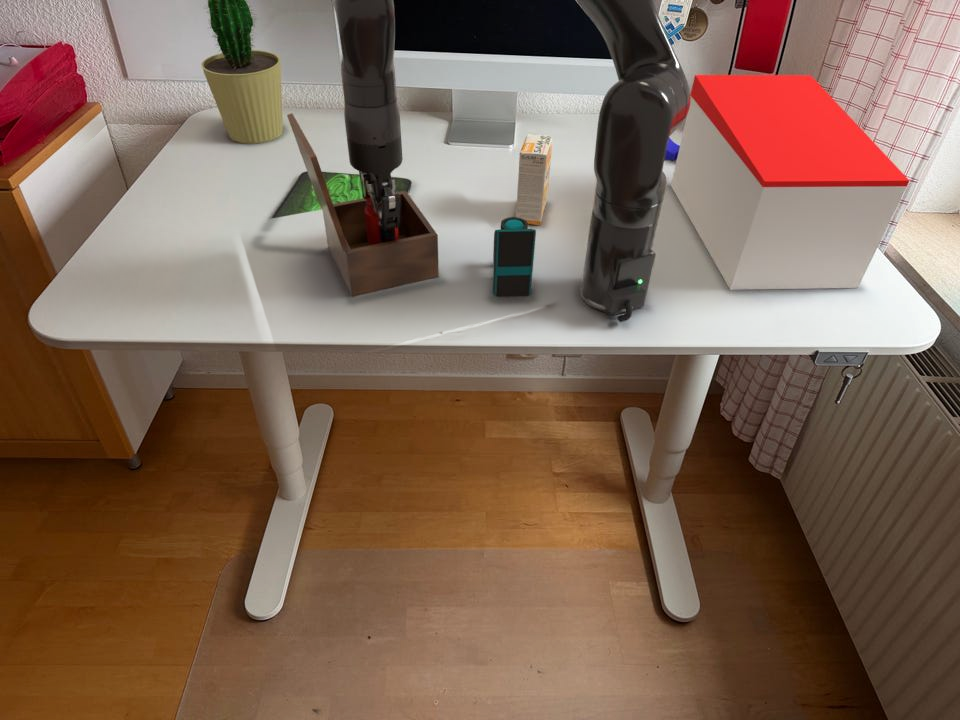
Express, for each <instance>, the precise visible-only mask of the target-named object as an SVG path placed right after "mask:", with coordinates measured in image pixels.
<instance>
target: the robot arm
mask: <svg viewBox="0 0 960 720" xmlns="http://www.w3.org/2000/svg"><path fill="white" fill-rule="evenodd" d="M575 2H576V3H577V4H578V5H579V6H580V8H581V10H583V12H584V13H585V14H586V16H587V17H589V18H590V20H591V21H592V22H593V24H594V25H595V26H596V28H597V29H598V31H599V32H600V34H601V36H602V38H603V39H604V42H605V43H606V46H607V48H608V51H609V54H610V57H611V59H612V63H613V66H614V69H615V72H616V76H617V81H616V82H615V83H614V84H613V85H612V86H611V87H610V88H609V89H608V91H606V94H605V95H604V97H603V100H602V103H601V106H600V110H599V115H598V121H597V127H596V128H597V129H596V136H595V137H596V138H595V147H594V156H593V157H594V159H593V172H594V175H595V179H596V182H595V188H594V189H595V190H594V197H593V202H592V203H593V204H592V210H591V216H590V224H589V229H588V237H587V243H586V249H585V250H586V251H585V257H584V265H583V271H582V278H581V283H580V287H579V294H580V297H581V300H583V301H584V303H586V305H588V306H590V307H591V308H593V309H595V310H597V311H601V312H605V313H606V315H608V316H615V315H618V317H617V321H618V322H619V323H624V322H626V321H628V320H630V318H631V317H632V315H633V311H634V310H637V309H641V308H644V307H645V304H646V299H647V295H648V290H649V286H650V281H651V277H652V273H653V268H654V264H655V259H656V253H655V251H654V250H653V246H654V242H655V237H656V233H657V228H658V224H659V219H660V215H661V210H662V207H663V202H664V198H665V193H666V189H667V183H668V182H667V181H668V178H667V175H666V174H665V172H664V171H663V170H664V164H665V160H666V159H665V154H666V149H667V144H668V139H669V137H671V136H672V134H673V133H675V132H676V131H677V130H678V129H679V128H680V126H681V125H682V124H683V123H684V122H685V121H686V117H687V114H688V111H689V108H690V100H691V90H690V85H689V82H688V79H687V77H686V75H685V72H684V69H683V67H682V64H681V63H680V61H679V58H678V57H677V54H676V52H675V50H674V48H673V45H672V43H671V41H670V39H669V37H668V35H667V31H666V29H665V28H664V25H663V23H662V20H661V18H660V16H659V12H658V9H657V8H656V4H655V1H654V0H575ZM331 3H332V7H333V9H334V12H335V15H336V22H337V27H338V35H339V42H340V48H341V56H342V58H341V62H340V75H341V85H342V91H343V92H342V94H343V104H344V105H343V106H344V107H343V108H344V109H343V114H344V115H343V117H344V118H343V119H344V126H345V135H346V141H347V151H348V159H349V164H350V166H351V167H352V168H353V169H354V170H356V171H358V174H359V175H360V181H361V187H362V193H363V194H362V196H363V198H364V200H365V199H366V200H367V198H368V197H370V198H371V203H372V209H373V211H374V212H376V213H377V218H378V225H379V231H380V242H381V243H385V242H390V241H395V240H396V237H395V228H398V227H400V206H401V197H400V195H399V194H395V191H394V190H395V188H396V187H395V181H394V178H393V177H394V176H392V173H393V171H394V170H396V169H398V168H399V167H400V166H401V165H402V163H403V158H404V157H403V144H402V143H403V142H402V129H401V114H400V109H399V103H398V95H397V80H396V79H397V78H396V69H395V68H396V67H395V62H394V57H395V42H396V41H395V40H396V14H395V13H396V12H395V4H394V3H395V2H394V0H331ZM377 203H381V206H377ZM366 206H367V203H366ZM622 313H624V314H622ZM619 314H620V315H619Z"/></svg>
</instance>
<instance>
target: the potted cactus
mask: <svg viewBox="0 0 960 720" xmlns="http://www.w3.org/2000/svg"><path fill="white" fill-rule="evenodd" d="M248 4H250V1H247V0H207V5H205V7H203V10H204V9H206V8H208V11H206V13H208V14H209V23H210V27H208V29H211V30H212V32H213V35H212V38H214V41H212V42H213V43H214V42H215V40H216V48H219V49H220V50H218V51H217V54H214V55H211V56H208V57H206V59H204V60H203V61H202V63H201V69H202V70H203V74H204V76H205V79H206V82H207V84H208V87H209V89H210V91H211V94H212V97H213V99H214V101H215V105H216V107H217V109H218V112H219V114H220V117H221V119H222V122H223V125H224V127H225V130H226V132H227V135H228V136H229V138H230V139H231V140H232V141H234V142H235V143H240V144H248V145H251V144H252V145H253V144H261V143H262V144H263V143H267V142H271V141H273V140H276V139H278V138H279V137H281V135H283V130H284V126H283V124H284V123H283V96H282V95H283V94H282V93H283V92H282V67H281V62H282V59H281V57H280V56H279V55H278V54H276V53H274V52H270V51H266V50H259V49H254V48H255V45H253V42H254V37H255V35H257V33H255V32H254V29H253V27H254V28H255V29H256V28H257V26H256V25H255V23H257V21H258V20H257V17H254V16H255V15H256V16H257V14H256V13H254V11H253V12H252V9H250V8H251V7H252V5H248ZM252 15H253V16H252ZM253 33H254V34H253ZM220 51H221V52H220ZM219 52H220V53H219Z"/></svg>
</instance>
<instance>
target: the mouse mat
mask: <svg viewBox="0 0 960 720" xmlns="http://www.w3.org/2000/svg"><path fill="white" fill-rule="evenodd" d="M322 174H323V177H324V180H325V183H326V186H327V188H328V191H329V194H330V197H331V200H332V203H333V204H335V203H340V202H346V201H351V200H357V199H362V198H363V196H362V194H363V193H362V187H361V181H360V175H359V173H346V172H345V173H343V172H331V171H322ZM392 177H393V178H394V181H395V187H396V188H395V190H394V191H395V193H396V192H401V191H406V192H407V193H408V194H409V191H410V189H411V186H412V184H413V182H412V180H411V179H409V178H405V177H397V176H392ZM315 211H322V209H321V207H320V205H319V202H318V200H317V197H316V194H315V191H314V189H313V186H312V183H311V180H310V178H309V175H308V172H307V170H306V171H303V172H301V173H300V175H299V176H298V178H297V180H296V181H295V183H294V184H293V186H292V187H291V189H290V190H289V191H288V193H287V194H286V196H285V197H284V198H283V201H282V202H281V203H280V205H279V206H278V207H277V209H276V210H275V212H274V213H273V215H272V217H271V218H270V219H277V218H284V217H288V216H294V215H299V214H305V213H310V212H315Z"/></svg>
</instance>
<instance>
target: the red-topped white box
mask: <svg viewBox="0 0 960 720" xmlns="http://www.w3.org/2000/svg"><path fill="white" fill-rule="evenodd" d="M691 86H692V87H691V90H690V97H691V99H690V108H689V111H688V114H687V116H686V118H685V121H684V122H685V123H684V126H683V131H682V136H681V140H680V144H679V146H680V148H679V152H678V157H677V159H676V162H675V166H674V172H673V174H672V178H671V183H670V187H671V189H672V190H673V192H674V194H675V196H676V197H677V199H678V201H679V202H680V204H681V206H682V208H683V210H684V211H685V213H686V215H687V217H688V218H689V220H690V222H691V224H692V226H693V228H694V229H695V231H696V232H697V234H698V236H699V238H700V240H701V241H702V243H703V245H704V246H705V248H706V250H707V252H708V253H709V255H710V257H711V259H712V260H713V262H714V264H715V266H716V268H717V270H718V272H719V273H720V275H721V276H722V279H723V281H724V282H725V284H726V285H727V287H728V289H729V290H730V291H737V290H738V291H741V290H743V291H744V290H750V291H751V290H807V289H808V290H809V289H817V290H818V289H858V288H859V287H860V285H861V282H862V280H863V278H864V276H865V274H866V272H867V270H868V268H869V265H870V264H871V262H872V260H873V258H874V255H875V253H876V251H877V249H878V247H879V245H880V243H881V241H882V239H883V236H884V235H885V232H886V230H887V228H888V227H889V224H890V222H891V220H892V218H893V216H894V214H895V212H896V210H897V207H898V206H899V203H900V202H901V200H902V198H903V195H904V193H905V192H906V189H907V187H908V185H909V183H910V179H909V178H908V177H907V175H905V173H904V172H902V171H901V169H899V167H898V166H897V165H896V164H895V163H894V162H893V161H892V160H891V159H890V158H889V157H888V155H887V154H885V152H884V151H882V149H881V148H880V147H879V146H878V145H877V144H876V143H875V142H874V140H873V139H872V138H871V137H870V136H869V135H868V134H866V132H865V131H864V130H863V129H862V128H861V127H860V126H859V125H858V124H857V123H856V121H855V120H854V119H852V117H851V116H850V115H849V114H848V113H847V112H846V111H845V110H844V109H843V107H842V106H840V105H839V103H838V102H836V100H835V99H834V98H833V97H832V96H831V95H830V94H829V93H828V92H827V91H826V90H825V89H824V88H823V87H822V86H821V85H820V83H819V82H818V81H817V80H816V79H815V78H814V77H813V76H812V75H811V74H695V75H694V77H693V83H692V85H691Z"/></svg>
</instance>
